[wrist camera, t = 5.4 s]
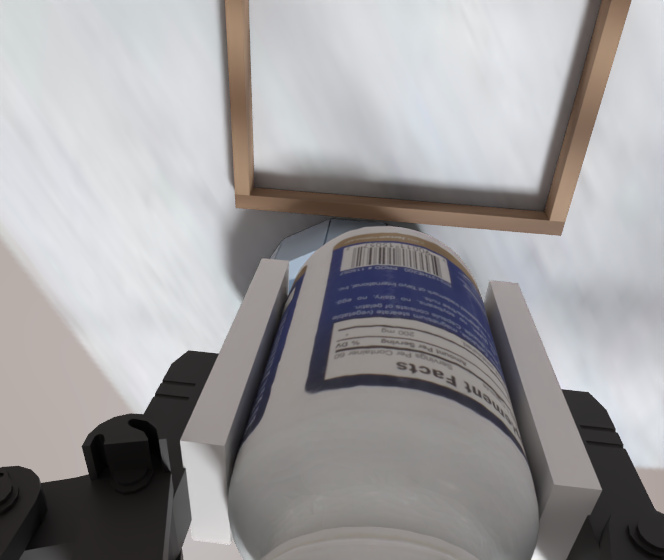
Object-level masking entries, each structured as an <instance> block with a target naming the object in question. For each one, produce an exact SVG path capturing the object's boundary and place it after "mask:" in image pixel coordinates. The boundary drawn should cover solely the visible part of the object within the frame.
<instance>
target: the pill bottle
mask: <svg viewBox="0 0 664 560" xmlns="http://www.w3.org/2000/svg"><path fill="white" fill-rule="evenodd" d="M228 518H229V523H230V529H231V532H232V536H233V539H234V542H235V544H236V546H237V549H238V551H239V553H240V554H241V556H242V558H243V560H531V559H532V556H533V554H534V550H535V546H536V543H537V538H538V533H539V510H538V502H537V497H536V493H535V487H534V481H533V478H532V474H531V470H530V467H529V464H528V461H527V457H526V453H525V450H524V447H523V443H522V439H521V436H520V432H519V428H518V425H517V421H516V418H515V414H514V411H513V408H512V404H511V400H510V396H509V392H508V389H507V385H506V382H505V378H504V375H503V371H502V368H501V364H500V361H499V357H498V353H497V350H496V347H495V343H494V340H493V336H492V333H491V329H490V325H489V321H488V318H487V314H486V310H485V306H484V303H483V300H482V297H481V295H480V292H479V289H478V286H477V284H476V281H475V279H474V277H473V275H472V273H471V271H470V270H469V268H468V267H467V265H466V264H465V263H464V262H463V261H462V259H461V258H460V257H459V256H458V255H457V254H456V253H455V252H454V251H453V250H452V249H451V248H449V247H448V246H446V245H445V244H443V243H442V242H440V241H439V240H437V239H435V238H433V237H431V236H429V235H427V234H424V233H422V232H418V231H415V230H411V229H408V228H402V227H393V226H375V227H364V228H360V229H356V230H351V231H348V232H346V233H344V234H342V235H340V236H338V237H336V238H334V239H332V240H330V241H329V242H327V243H326V244H325V245H323V246H322V247H320V248H319V249H318V250H316V251H315V252H314V253H313V254H312V255H311V256H310V257H309V259H308V260H307V261H306V262H305V263H304V265H303V266H302V267H301V268H300V270H299V272H298V274H297V276H296V278H295V280H294V282H293V285H292V287H291V290H290V292H289V295H288V298H287V300H286V302H285V305H284V309H283V312H282V317H281V320H280V323H279V326H278V329H277V332H276V336H275V339H274V342H273V345H272V349H271V352H270V355H269V358H268V361H267V364H266V368H265V371H264V373H263V376H262V379H261V382H260V385H259V389H258V392H257V395H256V398H255V401H254V405H253V408H252V411H251V414H250V417H249V420H248V423H247V426H246V428H245V432H244V435H243V439H242V442H241V445H240V448H239V451H238V454H237V457H236V460H235V463H234V467H233V473H232V477H231V481H230V486H229V491H228Z"/></svg>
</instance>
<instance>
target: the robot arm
mask: <svg viewBox="0 0 664 560" xmlns="http://www.w3.org/2000/svg"><path fill="white" fill-rule="evenodd" d="M288 295H289V261H286V260H276V259H265V258H262V259H261V261H260V264H259V266H258V268H257V270H256V272H255V275H254V277H253V279H252V281H251V284H250V286H249V288H248V290H247V292H246V295H245V297H244V299H243V301H242V304H241V306H240V308H239V310H238V312H237V315H236V317H235V319H234V321H233V324H232V326H231V328H230V330H229V333H228V335H227V337H226V339H225V341H224V344H223V346H222V348H221V350H220V353H219V354H216V353H207V352H198V351H189V350H188V351H187V352H186V353H185V354H183V355H182V356H181V357H180V358H178V359H177V360H176V361H175V362H173V363H172V364H171V366H170V368H169V370H168V372H167V373H166V375H165V377H164V379H163V382H162V383H161V384H160V386H159V388H158V389H157V391H156V393H155V397H153V398H152V400H151V402H150V404H149V406H148V407H147V409H146V411H145V413H144V414H126V415H122V416H117V417H114V418H112V419H110V420H107V421H106V422H103V423H101V424H100V425H98V426H97V427H96V428H95V429H94V430H93V431H92V432H91V433H90V434H88V436H87V438H86V440H85V442H84V443H83V445H82V449H83V453H84V456H85V461H86V464H87V468H88V472H89V474H88V475H85V476H80V477H76V478H71V479H64V480H59V481H51V482H45V483H41V482H40V479H39V477H38V476H37V475H36V474H35V473H34V472H33V471H32V470H31V469H27V468H24V467H20V466H11V467H1V468H0V560H183V554H182V546H183V543H184V540H185V537H186V534H187V531H188V529H189V526H191V534H192V540H196V541H204V542H212V543H220V544H227V545H231V542H232V538H233V536H232V532H231V529H230V523H229V518H228V491H229V486H230V481H231V477H232V473H233V467H234V463H235V460H236V457H237V454H238V451H239V448H240V445H241V442H242V439H243V435H244V432H245V428H246V426H247V423H248V420H249V417H250V414H251V411H252V408H253V405H254V401H255V398H256V395H257V392H258V389H259V385H260V382H261V379H262V376H263V373H264V371H265V368H266V364H267V361H268V358H269V355H270V352H271V349H272V345H273V342H274V339H275V336H276V332H277V329H278V326H279V323H280V320H281V317H282V312H283V309H284V305H285V302H286V300H287V298H288ZM484 306H485V310H486V314H487V318H488V321H489V325H490V329H491V333H492V336H493V340H494V343H495V347H496V350H497V353H498V357H499V361H500V364H501V368H502V371H503V375H504V378H505V382H506V385H507V389H508V392H509V396H510V400H511V404H512V408H513V411H514V414H515V418H516V421H517V425H518V428H519V432H520V436H521V439H522V443H523V447H524V450H525V453H526V457H527V461H528V464H529V467H530V470H531V474H532V478H533V481H534V487H535V493H536V497H537V502H538V510H539V533H538V538H537V543H536V546H535V550H534V554H533V556H532V559H531V560H664V514H662V513H660V512H658V511H656V510H655V508H654V506H653V504H652V502H651V500H650V498H649V496H648V494H647V493H646V490H645V488H644V486H643V484H642V482H641V480H640V478H639V476H638V474H637V472H636V470H635V468H634V465H633V463H632V461H631V459H630V457H629V455H628V453H627V451H626V449H623V443H622V441H621V439H620V437H619V435H618V433H616V432H615V430H616V429H615V427H614V425H613V423H612V421H611V419H610V417H609V415H608V412H607V410H606V409H605V408H604V407H603V406H602V405H601V404H600V403H599V402H598V401H597V400H596V399H595V398H594V397H593V396H592V395H591V394H590V393H589V392H581V391H572V390H563V389H561V387H560V385H559V383H558V380H557V378H556V375H555V373H554V370H553V368H552V365H551V363H550V360H549V358H548V356H547V353H546V351H545V348H544V346H543V343H542V341H541V338H540V336H539V333H538V331H537V328H536V326H535V324H534V321H533V319H532V316H531V314H530V311H529V309H528V306H527V304H526V301H525V299H524V297H523V294H522V292H521V289H520V287H519V284H518V283H511V282H500V281H490V280H489V284H488V289H487V293H486V297H485V301H484Z"/></svg>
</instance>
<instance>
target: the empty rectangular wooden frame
mask: <svg viewBox="0 0 664 560" xmlns="http://www.w3.org/2000/svg"><path fill="white" fill-rule="evenodd" d="M630 4H631V0H602V2H601V5H600V9H599V13H598V16H597V20H596V24H595V27H594V31H593V35H592V38H591V42H590V46H589V49H588V53H587V57H586V60H585V64H584V68H583V71H582V75H581V78H580V82H579V86H578V89H577V93H576V97H575V100H574V104H573V108H572V111H571V115H570V119H569V122H568V126H567V130H566V133H565V137H564V141H563V144H562V148H561V151H560V155H559V159H558V162H557V166H556V170H555V173H554V177H553V181H552V184H551V188H550V192H549V195H548V199H547V203H546V206H545V210H544V211H532V210H520V209H508V208H496V207H484V206H472V205H460V204H447V203H435V202H423V201H411V200H399V199H387V198H375V197H363V196H351V195H339V194H327V193H315V192H302V191H290V190H278V189H266V188H254V157H253V125H252V93H251V62H250V30H249V0H225V12H226V31H227V50H228V70H229V89H230V108H231V127H232V147H233V166H234V185H235V204H236V208H243V209H255V210H267V211H278V212H290V213H302V214H313V215H325V216H337V217H348V218H360V219H372V220H384V221H395V222H407V223H419V224H430V225H442V226H454V227H465V228H477V229H489V230H500V231H512V232H524V233H535V234H547V235H559V236H561V234H562V231H563V227H564V224H565V221H566V217H567V214H568V211H569V207H570V204H571V201H572V197H573V194H574V191H575V187H576V184H577V181H578V177H579V174H580V171H581V167H582V164H583V161H584V157H585V154H586V151H587V147H588V144H589V140H590V137H591V134H592V130H593V127H594V124H595V120H596V117H597V114H598V110H599V107H600V104H601V100H602V97H603V94H604V90H605V87H606V84H607V80H608V77H609V74H610V70H611V67H612V64H613V60H614V57H615V54H616V50H617V47H618V44H619V40H620V37H621V34H622V30H623V27H624V24H625V20H626V17H627V14H628V10H629V7H630Z"/></svg>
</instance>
